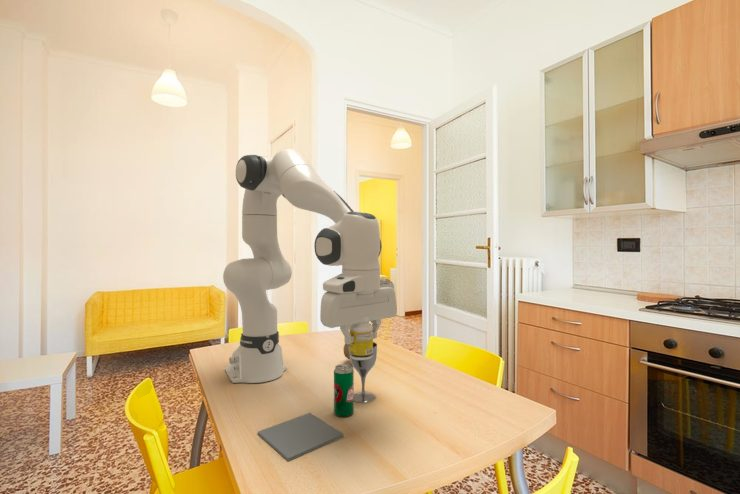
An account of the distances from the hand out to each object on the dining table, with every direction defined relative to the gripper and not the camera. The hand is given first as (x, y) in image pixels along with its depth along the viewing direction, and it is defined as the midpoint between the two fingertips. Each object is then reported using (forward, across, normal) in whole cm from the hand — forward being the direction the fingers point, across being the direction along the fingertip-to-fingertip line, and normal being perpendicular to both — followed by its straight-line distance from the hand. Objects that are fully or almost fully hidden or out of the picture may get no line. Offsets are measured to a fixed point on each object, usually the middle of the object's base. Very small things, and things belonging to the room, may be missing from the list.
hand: (361, 341), depth 85 cm
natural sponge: (+21, -28, -38) cm, 52 cm away
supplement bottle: (+4, 0, 0) cm, 4 cm away
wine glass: (+21, -12, -14) cm, 28 cm away
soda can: (+21, -2, -10) cm, 23 cm away
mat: (+21, +12, -7) cm, 25 cm away
